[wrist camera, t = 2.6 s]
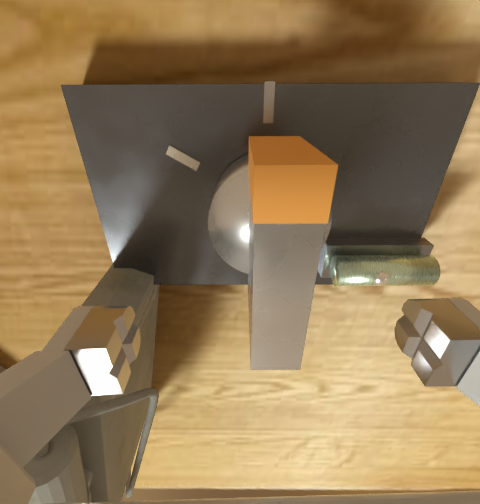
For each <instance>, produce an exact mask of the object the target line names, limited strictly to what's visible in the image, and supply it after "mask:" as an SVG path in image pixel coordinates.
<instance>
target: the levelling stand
mask: <svg viewBox="0 0 480 504" xmlns="http://www.w3.org/2000/svg"><path fill="white" fill-rule="evenodd" d="M479 85H480V83H328V84H275V81H265V83H264V84H137V85H61V88H62V91H63V94H64V98H65V101H66V105H67V108H68V111H69V115H70V118H71V122H72V125H73V129H74V132H75V135H76V139H77V142H78V146H79V149H80V152H81V156H82V159H83V163H84V166H85V169H86V173H87V176H88V180H89V183H90V186H91V190H92V193H93V197H94V200H95V203H96V207H97V210H98V214H99V217H100V220H101V224H102V227H103V231H104V234H105V237H106V241H107V244H108V248H109V251H110V255H111V258H112V261H113V265H114V268H132V269H135V270H138V271H141V272H144V273H147V274H150V275H153V276H154V284H153V285H236V284H248V274H246V273H243V272H241V271H239V270H237V269H235V268H233V267H232V266H230V265H229V264H227V263H226V262H225V261H224V260H223V259H222V258H221V257H220V256H219V254H218V253H217V251H216V250H215V248H214V246H213V244H212V242H211V239H210V236H209V231H208V216H209V211H210V207H211V203H212V199H213V195H214V192H215V188H216V185H217V183H218V181H219V179H220V177H221V175H222V174H223V173H224V171H225V170H226V169H227V168H228V167H229V166H230V165H231V164H232V163H233V162H235V161H236V160H238V159H239V158H241V157H243V156H245V155H248V154H249V136H300V137H302V138H303V139H304V140H306V141H307V142H308V143H310V144H311V145H312V146H314V147H315V148H316V149H318V150H319V151H320V152H322V153H323V154H324V155H326V156H327V157H329V158H330V159H331V160H333V161H334V162H335V163H337V164H338V170H337V175H336V181H335V186H334V192H333V198H332V203H331V215H332V220H331V228H330V232H329V235H328V237H327V240H326V242H325V244H324V245H323V247H322V248H321V252H320V258H319V264H318V270H317V275H316V281H315V284H333V285H335V286H431V285H434V284H436V283H437V281H438V280H439V277H440V266H439V263H438V261H437V260H436V258H435V257H433V256H431V255H430V253H431V251H432V248H433V246H434V245H433V244H431V243H430V242H429V241H428V240H426V239H425V238H421V236H422V233H423V231H424V228H425V226H426V223H427V220H428V218H429V215H430V213H431V210H432V207H433V205H434V202H435V200H436V197H437V194H438V192H439V189H440V186H441V184H442V181H443V179H444V176H445V173H446V171H447V168H448V166H449V163H450V160H451V158H452V155H453V153H454V150H455V147H456V145H457V142H458V140H459V137H460V134H461V132H462V129H463V127H464V124H465V121H466V119H467V116H468V113H469V111H470V108H471V106H472V103H473V100H474V98H475V95H476V93H477V90H478V87H479Z"/></svg>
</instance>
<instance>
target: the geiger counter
mask: <svg viewBox="0 0 480 504" xmlns="http://www.w3.org/2000/svg"><path fill="white" fill-rule="evenodd" d="M153 284H154V276H153V275H150V274H147V273H144V272H141V271H138V270H135V269H132V268H114V265H112V266H111V267H110V269H109V270H108V271H107V273H106V274H105V275H104V277H103V278H102V279H101V281H100V282H99V283H98V285H97V286H96V287H95V289H94V290H93V291H92V293H91V294H90V295H89V296H88V298H87V299H86V300H85V302H84V303H83V304H82V306H131V307H133V310H134V313H135V318H134V320H133V323H134V324H136V325H137V326H138V327H139V330H140V338H141V341H140V349H139V352H138V355H137V358H136V359H135V360H134V361H133V362H132V363H131V364H130V365H129V367H130V370H131V374H130V377H129V380H128V382H127V385H126V388H125V390H124V393H123V394H116V395H98V396H91V397H92V398H91V399H90V400H89V401H88V402H87V403H86V404H85V405H84V406H83V407H82V408H81V409H80V410H79V411H78V412H77V413H76V414H75V415H74V416H73V417H72V418H71V419H70V420H69V421H68V422H67V423H66V424H65V425H64V426H63V427H62V428H61V429H60V430H59V431H58V433H57V434H56V435H55V436H54V437H53V438H52V439H51V440H50V441H49V442H48V443H47V444H46V445H45V446H44V447H43V448H42V449H41V450H40V451H39V452H38V453H37V454H36V455H35V456H34V457H33V458H32V459H31V460H30V461H29V462H28V463H27V464H26V465H25V466H24V467H23V468H24V469H25V470H26V472H27V473H28V474H29V475H30V476H31V477H32V478H33V479H34V480H35V484H36V488H35V490H34V492H33V494H32V497H31V499H30V501H29V503H28V504H53V503H86V502H119V501H121V500H122V497H123V493H124V490H125V486H126V497H128V498H129V497H131V495H132V492H133V489H134V486H135V482H136V478H137V475H138V471H139V468H140V464H141V461H142V457H143V454H144V450H145V447H146V443H147V439H148V436H149V432H150V429H151V425H152V422H153V418H154V415H155V411H156V407H157V403H158V397H159V395H158V390H157V389H155V388H152V375H153V362H154V350H155V337H156V324H157V312H158V299H159V287H160V285H153ZM144 422H145V423H144ZM143 425H144V427H143ZM142 429H143V431H142ZM141 432H142V436H141ZM140 436H141V440H140V444H139V448H138V452H137V456H136V460H135V464H134V468H133V472H132V476H131V466H132V463H133V459H134V456H135V453H136V449H137V446H138V442H139V439H140Z"/></svg>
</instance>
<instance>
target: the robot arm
mask: <svg viewBox="0 0 480 504" xmlns="http://www.w3.org/2000/svg"><path fill="white" fill-rule="evenodd" d="M402 312H403V313H404V316H403V317H401V318H400V319H399V320H398V321H397V323H396V326H395V339H396V341H397V344H398V346H399V347H400V349H401V351H402V352H403V353H404V354H406V355H407V356H409V357H410V358H412V362H411V366H412V367H413V369H414V370H415V372H416V373H417V375H418V377H419V378H420V380H421V381H422V383H423V384H424V386H457V387H456V388H457V389H458V390H459V391H460V392H462V393H463V394H464V395H466V396H467V397H468V398H469V399H471V400H472V401H473V402H475V403H476V404H477V405H478V406H480V311H479V310H478V309H477V308H475V307H474V306H473V305H472V304H471V303H470V302H469V301H467V300H465V299H463V298H461V297H459V298H442V299H408V300H407V301H406V302H405V303H404V305H403V307H402ZM134 318H135V313H134V310H133V307H131V306H78V307H76V308H74V309H73V311H72V312H71V313H70V314H69V316H68V317H67V318H66V320H65V321H64V322H63V324H62V325H61V326H60V328H59V329H58V330H57V332H56V333H55V334H54V336H53V337H52V338H51V340H50V341H49V342H48V344H47V345H46V346H45V347H44V349H43V350H42V351H36V352H34V353H32V354H31V355H29V356H28V357H26V358H24V359H23V360H21V361H20V362H18V363H16V364H15V365H13V366H11V367H10V368H8V369H7V370H5V371H3V372H2V373H0V504H28V503H29V501H30V499H31V497H32V494H33V492H34V490H35V488H36V484H35V480H34V479H33V478H32V477H31V476H30V475H29V474H28V473H27V472H26V470H25V469H24V468H23V467H24V466H25V465H26V464H27V463H28V462H29V461H30V460H31V459H32V458H33V457H34V456H35V455H36V454H37V453H38V452H39V451H40V450H41V449H42V448H43V447H44V446H45V445H46V444H47V443H48V442H49V441H50V440H51V439H52V438H53V437H54V436H55V435H56V434H57V433H58V431H59V430H60V429H61V428H62V427H63V426H64V425H65V424H66V423H67V422H68V421H69V420H70V419H71V418H72V417H73V416H74V415H75V414H76V413H77V412H78V411H79V410H80V409H81V408H82V407H83V406H84V405H85V404H86V403H87V402H88V401H89V400H90V399H91V398H92V397H91V396H98V395H116V394H123V393H124V390H125V388H126V385H127V382H128V380H129V377H130V374H131V370H130V367H129V365H130V364H131V363H132V362H133V361H134V360H135V359H136V358H137V355H138V352H139V349H140V341H141V338H140V330H139V327H138V326H137V325H136V324H134V323H133V320H134ZM53 504H480V491H454V492H421V493H388V494H387V493H386V494H353V495H319V496H287V497H255V498H254V497H253V498H219V499H189V500H187V499H186V500H152V501H119V502H86V503H53Z"/></svg>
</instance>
